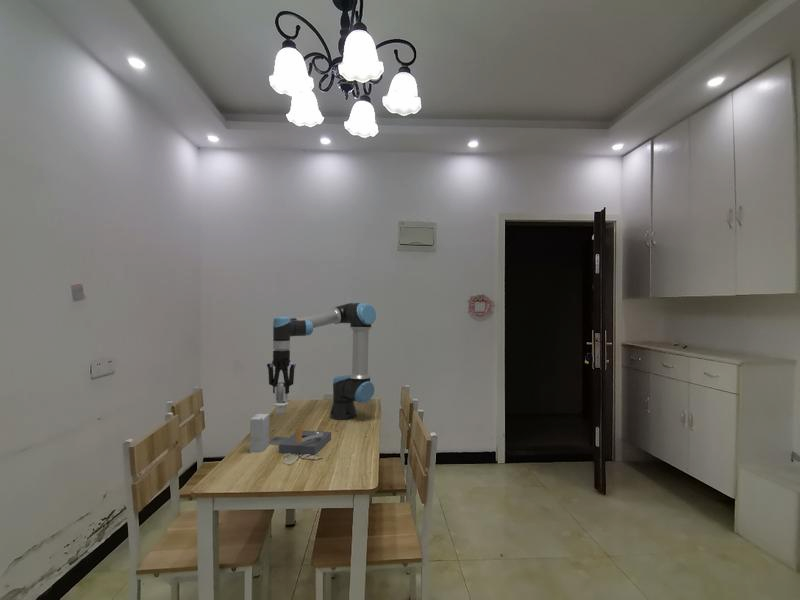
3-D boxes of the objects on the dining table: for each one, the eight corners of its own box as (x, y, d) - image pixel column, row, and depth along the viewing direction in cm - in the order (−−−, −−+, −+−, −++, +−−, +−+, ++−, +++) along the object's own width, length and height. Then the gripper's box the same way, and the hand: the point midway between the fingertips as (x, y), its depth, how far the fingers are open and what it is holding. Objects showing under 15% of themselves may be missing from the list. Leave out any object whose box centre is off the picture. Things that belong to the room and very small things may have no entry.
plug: (270, 414, 181) (270, 384, 181) (277, 411, 187) (278, 381, 188) (284, 415, 179) (284, 384, 180) (291, 412, 186) (291, 382, 186)
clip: (291, 440, 168) (291, 425, 168) (318, 432, 178) (318, 419, 178) (298, 442, 165) (298, 428, 165) (325, 435, 175) (325, 421, 175)
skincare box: (256, 446, 177) (256, 413, 178) (269, 446, 177) (270, 413, 177) (249, 453, 169) (249, 418, 169) (263, 453, 169) (263, 418, 169)
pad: (276, 438, 189) (276, 436, 189) (295, 439, 187) (295, 437, 187) (265, 445, 179) (265, 443, 179) (286, 446, 177) (286, 445, 177)
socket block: (298, 438, 188) (298, 426, 188) (330, 440, 185) (331, 427, 185) (279, 454, 168) (279, 440, 168) (314, 456, 166) (314, 442, 166)
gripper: (260, 350, 182) (260, 401, 181) (294, 351, 179) (294, 403, 178) (268, 348, 189) (268, 398, 188) (301, 349, 186) (301, 399, 186)
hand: (281, 400), depth 183 cm, fingers closed on plug, 3 cm apart
